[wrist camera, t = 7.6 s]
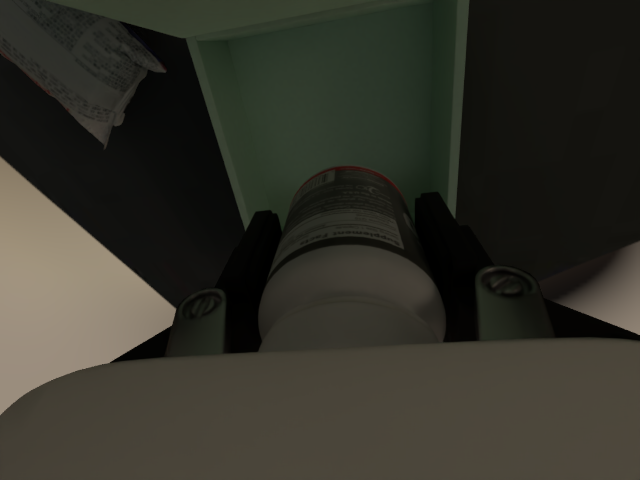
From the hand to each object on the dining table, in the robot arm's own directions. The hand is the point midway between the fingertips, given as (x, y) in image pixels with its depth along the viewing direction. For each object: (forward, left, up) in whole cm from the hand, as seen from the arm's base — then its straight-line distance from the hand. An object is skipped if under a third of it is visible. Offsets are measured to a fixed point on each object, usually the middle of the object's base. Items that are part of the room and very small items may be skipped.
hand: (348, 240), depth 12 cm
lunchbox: (-1, 0, -17) cm, 17 cm away
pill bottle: (0, 0, -2) cm, 2 cm away
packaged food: (-19, +9, -17) cm, 27 cm away
